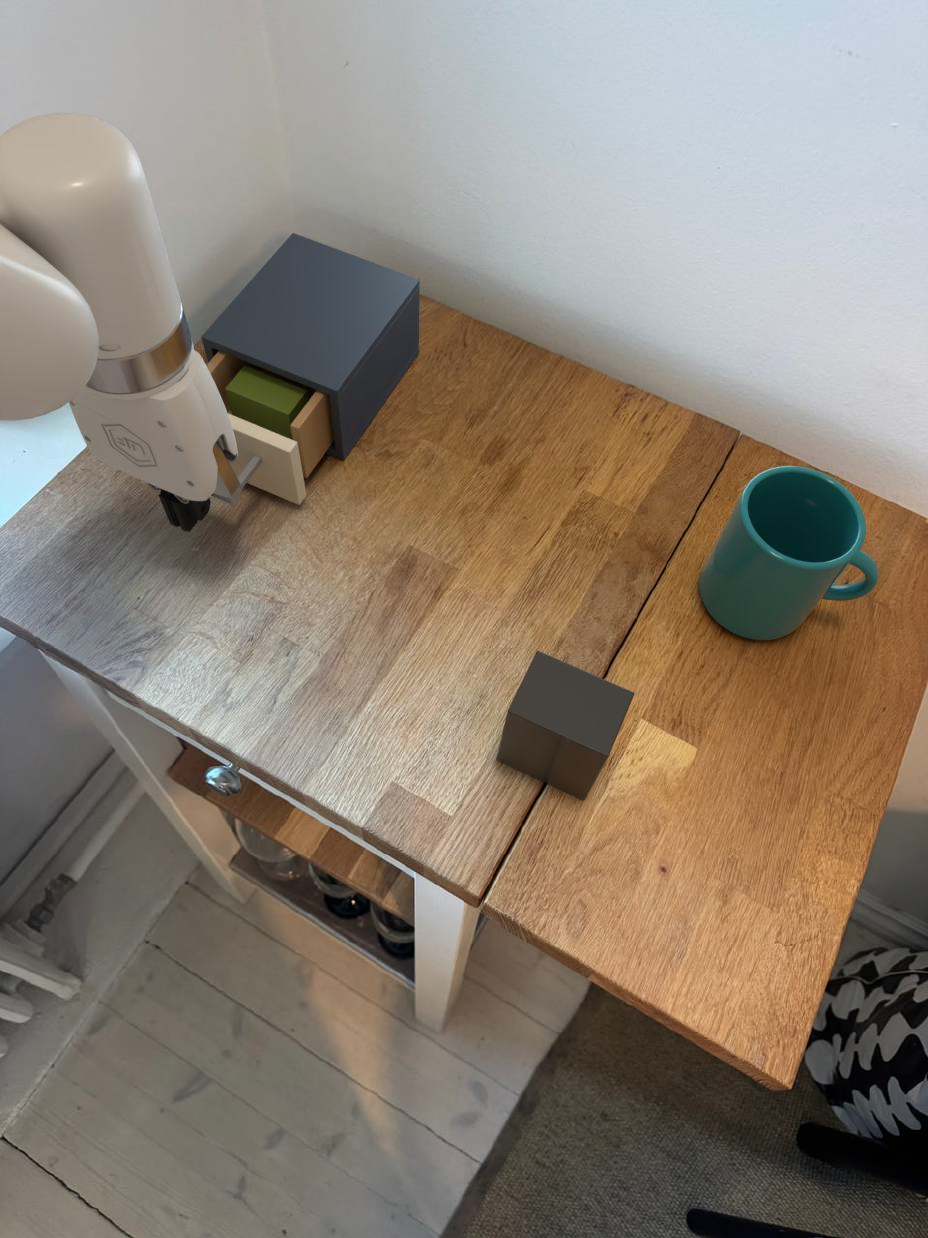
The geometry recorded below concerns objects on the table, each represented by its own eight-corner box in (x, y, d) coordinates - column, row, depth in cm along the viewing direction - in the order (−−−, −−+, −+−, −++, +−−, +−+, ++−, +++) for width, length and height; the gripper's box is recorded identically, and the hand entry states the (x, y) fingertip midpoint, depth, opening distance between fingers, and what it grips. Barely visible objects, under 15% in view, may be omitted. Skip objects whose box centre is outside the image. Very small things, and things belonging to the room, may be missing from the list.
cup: (835, 670, 70) (903, 597, 61) (686, 623, 72) (730, 545, 62) (848, 578, 75) (914, 497, 65) (708, 536, 76) (751, 450, 66)
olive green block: (234, 425, 77) (224, 388, 73) (252, 402, 78) (244, 364, 74) (295, 450, 76) (288, 414, 72) (312, 426, 77) (307, 389, 73)
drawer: (269, 547, 72) (257, 496, 66) (150, 495, 74) (127, 441, 68) (375, 397, 81) (372, 340, 75) (266, 353, 83) (255, 294, 77)
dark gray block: (495, 760, 65) (507, 711, 57) (522, 703, 68) (537, 649, 60) (584, 801, 64) (608, 757, 56) (608, 742, 66) (635, 692, 59)
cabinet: (344, 460, 78) (336, 391, 71) (220, 409, 80) (200, 336, 73) (419, 353, 85) (419, 279, 77) (303, 308, 87) (292, 232, 79)
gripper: (-17, 334, 54) (82, 514, 70) (195, 423, 51) (247, 589, 67) (62, 259, 57) (139, 447, 73) (265, 340, 54) (299, 516, 71)
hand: (191, 515), depth 70 cm, fingers closed
